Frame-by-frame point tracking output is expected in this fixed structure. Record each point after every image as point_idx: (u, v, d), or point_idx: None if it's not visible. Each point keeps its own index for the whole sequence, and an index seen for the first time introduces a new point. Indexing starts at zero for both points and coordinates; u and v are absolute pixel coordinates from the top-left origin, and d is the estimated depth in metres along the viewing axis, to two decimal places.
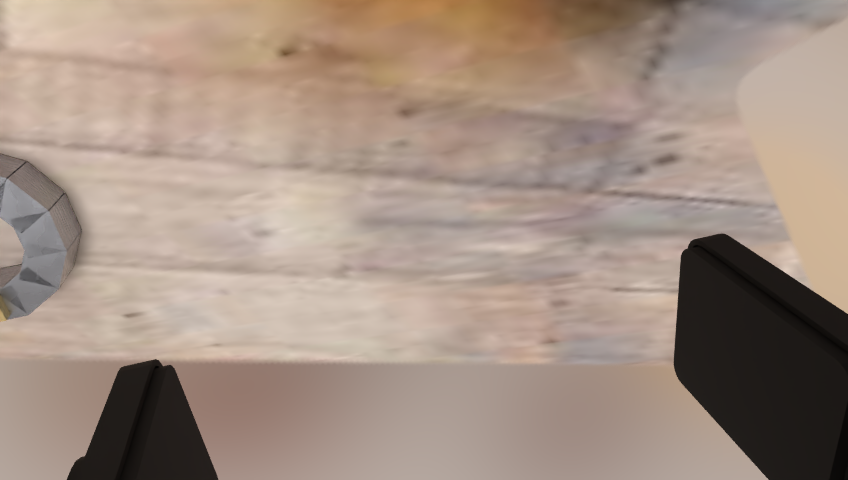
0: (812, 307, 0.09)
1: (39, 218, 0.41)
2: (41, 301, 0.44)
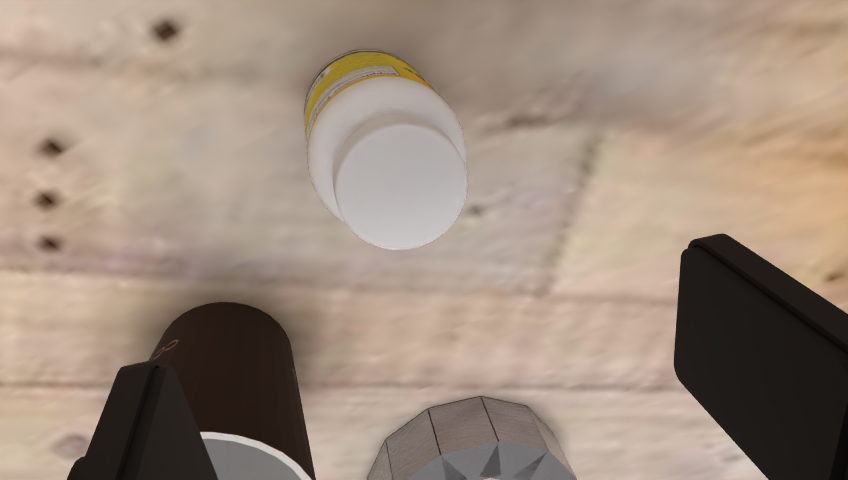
0: (812, 307, 0.09)
1: None
2: None
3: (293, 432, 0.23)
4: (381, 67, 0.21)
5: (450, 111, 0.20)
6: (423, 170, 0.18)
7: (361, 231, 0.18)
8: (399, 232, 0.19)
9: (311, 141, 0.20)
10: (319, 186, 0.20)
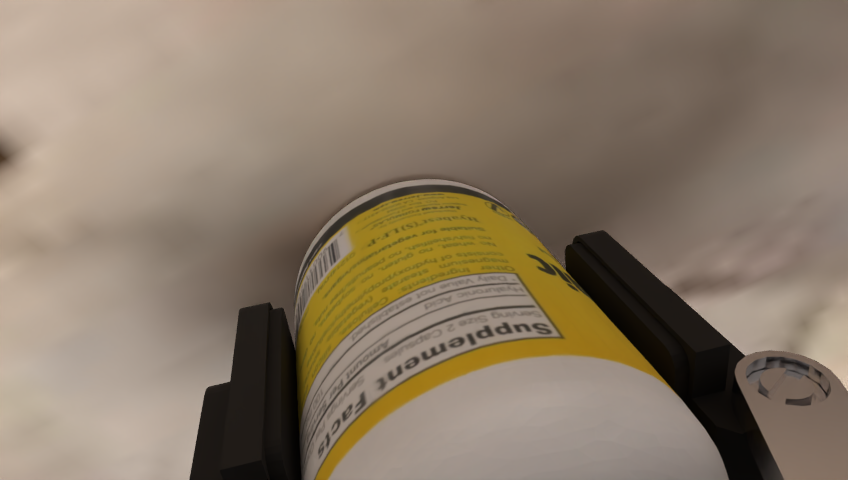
0: (657, 298, 0.09)
1: None
2: None
3: None
4: (491, 283, 0.08)
5: (711, 445, 0.07)
6: None
7: None
8: None
9: None
10: None
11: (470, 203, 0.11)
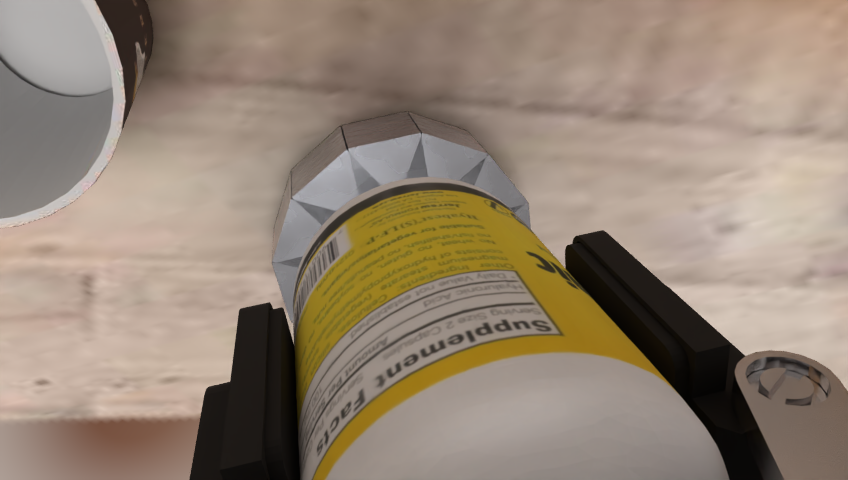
0: (657, 298, 0.09)
1: None
2: None
3: None
4: (491, 280, 0.08)
5: (711, 443, 0.07)
6: None
7: None
8: None
9: None
10: None
11: (469, 201, 0.11)
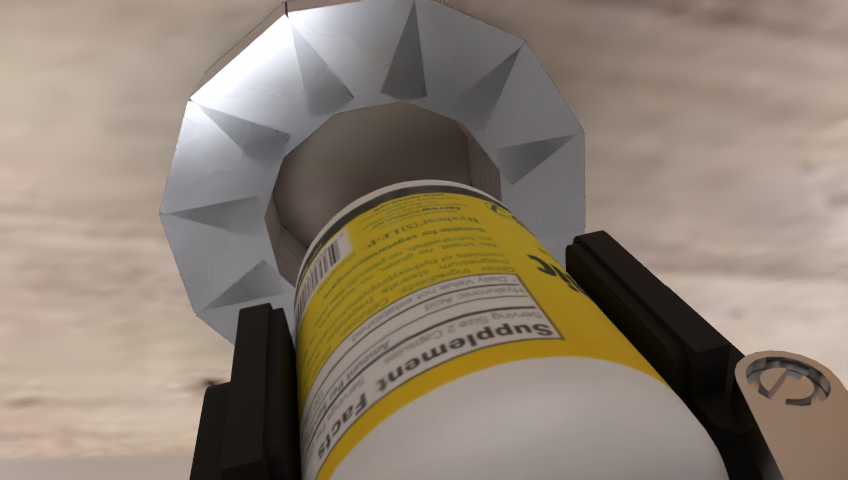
0: (657, 298, 0.09)
1: (559, 149, 0.17)
2: None
3: None
4: (492, 284, 0.08)
5: (712, 447, 0.07)
6: None
7: None
8: None
9: None
10: None
11: (470, 204, 0.11)
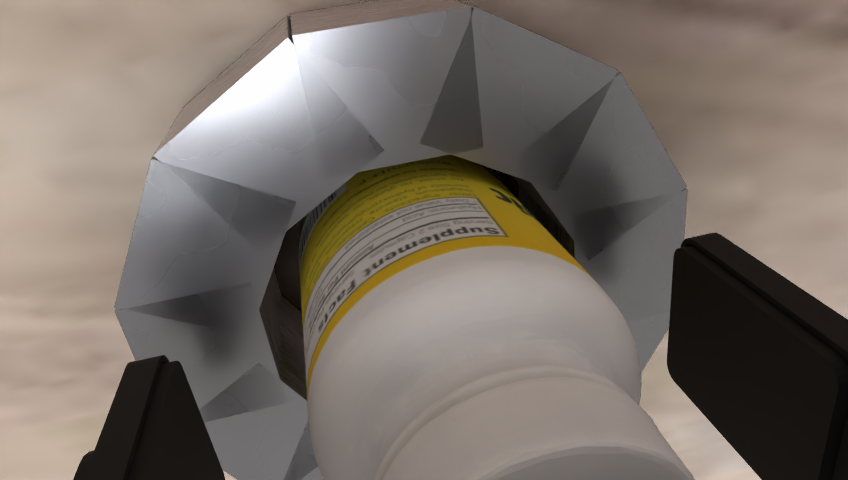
0: (802, 306, 0.09)
1: (653, 212, 0.13)
2: None
3: None
4: (456, 203, 0.10)
5: (620, 317, 0.09)
6: None
7: None
8: None
9: (316, 394, 0.09)
10: None
11: None
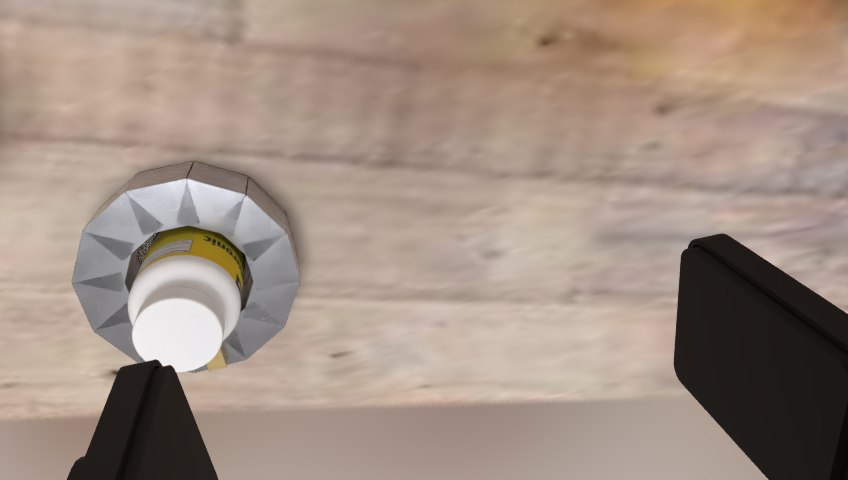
0: (812, 307, 0.09)
1: (275, 242, 0.34)
2: (263, 342, 0.37)
3: None
4: (183, 242, 0.32)
5: (221, 275, 0.31)
6: (189, 324, 0.28)
7: None
8: (180, 361, 0.29)
9: (128, 300, 0.30)
10: None
11: None
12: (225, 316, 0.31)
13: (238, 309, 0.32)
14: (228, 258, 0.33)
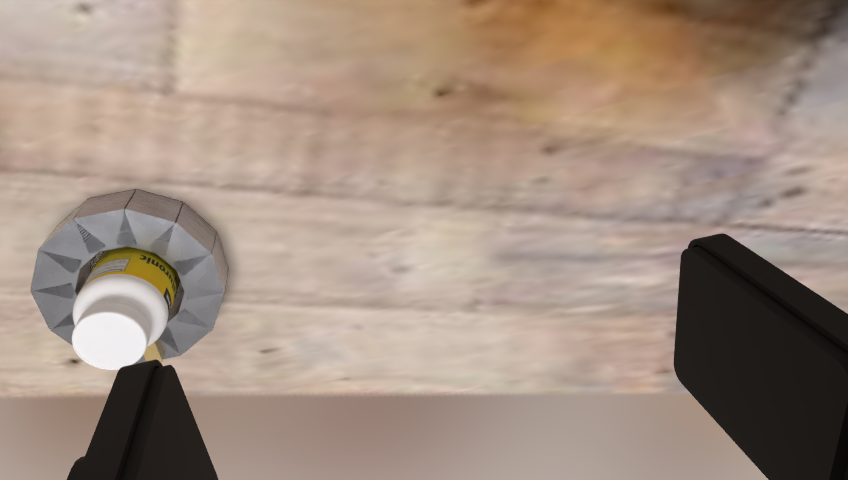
0: (812, 307, 0.09)
1: (202, 261, 0.41)
2: (194, 341, 0.44)
3: None
4: (121, 261, 0.39)
5: (149, 291, 0.37)
6: (118, 332, 0.35)
7: (90, 362, 0.36)
8: (112, 361, 0.36)
9: None
10: None
11: None
12: (153, 324, 0.38)
13: (165, 318, 0.38)
14: (159, 274, 0.40)
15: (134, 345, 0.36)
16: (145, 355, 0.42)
